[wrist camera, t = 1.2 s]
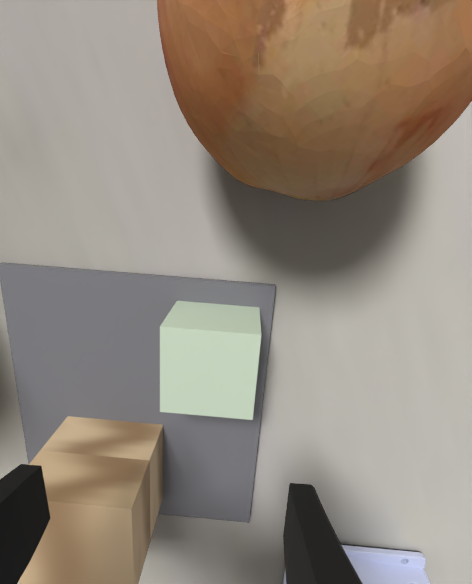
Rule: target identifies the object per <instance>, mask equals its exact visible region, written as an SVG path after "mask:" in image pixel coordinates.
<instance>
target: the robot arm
mask: <svg viewBox="0 0 472 584" xmlns="http://www.w3.org/2000/svg"><path fill="white" fill-rule="evenodd" d="M49 520H50V512H49V506H48V501H47V495H46V489H45V483H44V478H43V472H42V466H39V465H25V464H21V465H19V466H18V467H17V468H15V469H14V470H12V471H11V472H10V473H8V474H7V475H6V476H4V477H3V478H2V479H0V584H17V583H18V581H19V579H20V578H21V576H22V574H23V573H24V571H25V569H26V567H27V566H28V564H29V562H30V561H31V559H32V556H33V554H34V552H35V550H36V548H37V546H38V544H39V542H40V540H41V538H42V536H43V534H44V531H45V529H46V527H47V525H48V523H49ZM283 537H284V555H285V572H284V578H283V584H431V583H430V581H429V579H428V577H427V575H426V572H425V570H424V567H425V565H426V559H425V557H424V555H423V554H422V553H419V552H411V551H401V550H390V549H380V548H369V547H359V546H348V545H341V543H340V541H339V539H338V537H337V535H336V533H335V531H334V529H333V527H332V525H331V523H330V521H329V519H328V517H327V515H326V513H325V511H324V509H323V506H322V504H321V502H320V500H319V497H318V495H317V493H316V490H315V488H314V487H313V486H312V485H308V484H294V483H290V485H289V494H288V502H287V510H286V518H285V527H284V535H283Z"/></svg>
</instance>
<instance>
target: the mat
mask: <svg viewBox="0 0 472 584" xmlns="http://www.w3.org/2000/svg"><path fill="white" fill-rule="evenodd" d="M0 282H1V289H2V295H3V302H4V308H5V315H6V321H7V328H8V334H9V340H10V347H11V353H12V360H13V366H14V373H15V379H16V386H17V392H18V399H19V405H20V412H21V418H22V424H23V431H24V437H25V444H26V450H27V457H28V463H29V464H30V462H31V461H32V460H33V459H34V457H35V456H36V455H37V454H38V452H39V451H40V450H41V449H42V448H43V446H44V445H45V444H46V443H47V441H48V440H49V439H50V438H51V436H52V435H53V434H54V433H55V431H56V430H57V429H58V428H59V426H60V425H61V424H62V423H63V421H64V420H65V419H66V418H67V417H68V416H71V417H82V418H93V419H104V420H116V421H127V422H138V423H149V424H161V425H163V498H162V502H161V505H160V509H159V512H158V514H164V515H175V516H185V517H196V518H207V519H217V520H228V521H238V522H249V519H250V510H251V501H252V492H253V484H254V475H255V466H256V457H257V448H258V439H259V430H260V421H261V413H262V404H263V395H264V386H265V377H266V368H267V359H268V351H269V342H270V333H271V324H272V315H273V306H274V297H275V288H276V286H275V284H264V283H252V282H239V281H227V280H214V279H202V278H189V277H177V276H164V275H152V274H139V273H127V272H114V271H102V270H89V269H77V268H64V267H52V266H39V265H27V264H14V263H0ZM176 301H187V302H199V303H211V304H224V305H236V306H248V307H259V309H260V322H261V344H260V354H259V363H258V373H257V383H256V392H255V402H254V412H253V420H247V419H235V418H224V417H213V416H201V415H190V414H179V413H167V412H160V326H161V324H162V323H163V321H164V320H165V318H166V316H167V315H168V313H169V312H170V310H171V309H172V307H173V306H174V304H175V303H176Z"/></svg>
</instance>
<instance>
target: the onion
mask: <svg viewBox="0 0 472 584" xmlns="http://www.w3.org/2000/svg"><path fill="white" fill-rule="evenodd" d="M157 9H158V20H159V29H160V36H161V43H162V49H163V54H164V58H165V63H166V68H167V71H168V75H169V78H170V82H171V85H172V88H173V91H174V95H175V97H176V100H177V102H178V105H179V107H180V109H181V111H182V113H183V115H184V117H185V119H186V121H187V123H188V125H189V126H190V128H191V130H192V131H193V133H194V134H195V136H196V137H197V138H198V140H199V141H200V142H201V144H202V145H203V146H204V147H205V149H206V150H207V151H208V152H209V153H210V154H211V156H212V157H213V158H214V159H215V160H216V161H217V162H218V163H219V164H220V165H221V166H222V167H223V168H224V169H225V170H226V171H227V172H228V173H229V174H230V175H232V176H233V177H234V178H236V179H237V180H239V181H241V182H243V183H245V184H247V185H249V186H252V187H255V188H261V189H267V190H271V191H274V192H277V193H281V194H285V195H288V196H290V197H293V198H296V199H301V200H314V201H325V200H332V199H337V198H341V197H344V196H347V195H349V194H351V193H353V192H355V191H357V190H359V189H361V188H363V187H365V186H367V185H369V184H370V183H372V182H374V181H376V180H378V179H380V178H381V177H383V176H385V175H387V174H389V173H390V172H392V171H394V170H396V169H398V168H400V167H402V166H404V165H405V164H406V163H408V162H409V161H411V160H412V159H414V158H415V157H416V156H418V155H419V154H420V153H422V152H423V151H424V150H425V149H427V148H428V147H429V146H430V145H432V144H433V143H434V142H435V141H436V140H437V139H438V138H439V137H440V136H441V135H442V134H443V133H444V132H445V131H446V130H447V129H448V128H449V127H450V126H451V125H452V124H453V123H454V122H455V121H456V120H457V119H458V118H459V116H460V115H461V114H462V113H463V111H464V110H465V109H466V108H467V106H468V105H469V104H470V102H471V101H472V0H157Z"/></svg>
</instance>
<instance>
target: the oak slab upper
mask: <svg viewBox="0 0 472 584" xmlns="http://www.w3.org/2000/svg"><path fill="white" fill-rule="evenodd" d="M29 465H39V466H42V472H43V478H44V483H45V489H46V495H47V501H48V506H49V512H50V520H49V523H48V525H47V527H46V529H45V531H44V534H43V536H42V538H41V540H40V542H39V544H38V546H37V548H36V550H35V552H34V554H33V556H32V559H31V561H30V562H29V564H28V566H27V567H26V569H25V571H24V573H23V574H22V576H21V578H20V579H19V584H138V583H139V579H140V576H141V572H142V569H143V565H144V562H145V558H146V555H147V551H148V548H149V544H150V541H151V536H150V460H139V459H128V458H117V457H107V456H96V455H85V454H74V453H63V452H52V451H41V450H40V451H39V452H38V454H37V455H36V456H35V457H34V459H33V460H32V461H31V462H30V464H29Z"/></svg>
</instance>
